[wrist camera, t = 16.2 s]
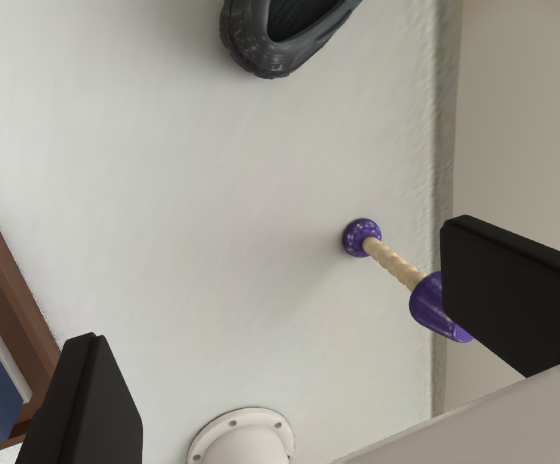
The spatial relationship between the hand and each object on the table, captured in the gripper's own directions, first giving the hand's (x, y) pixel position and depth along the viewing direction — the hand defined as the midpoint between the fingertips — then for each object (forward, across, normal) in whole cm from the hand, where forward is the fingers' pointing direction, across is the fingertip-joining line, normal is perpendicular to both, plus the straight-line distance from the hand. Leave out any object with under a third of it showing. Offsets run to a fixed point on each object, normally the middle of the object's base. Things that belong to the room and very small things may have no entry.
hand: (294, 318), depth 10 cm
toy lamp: (+26, -14, +12) cm, 32 cm away
